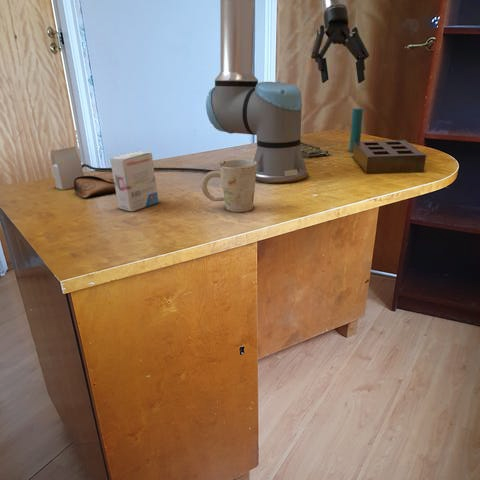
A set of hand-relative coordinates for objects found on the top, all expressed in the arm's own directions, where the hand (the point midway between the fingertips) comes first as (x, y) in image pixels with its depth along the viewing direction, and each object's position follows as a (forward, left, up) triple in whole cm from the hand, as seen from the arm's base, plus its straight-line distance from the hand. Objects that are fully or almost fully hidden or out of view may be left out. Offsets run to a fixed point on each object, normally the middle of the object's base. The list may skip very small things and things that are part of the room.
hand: (343, 81), depth 157 cm
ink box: (-56, -61, -21) cm, 86 cm away
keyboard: (-13, -3, -21) cm, 24 cm away
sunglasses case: (-66, -46, -21) cm, 83 cm away
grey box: (-79, -41, -21) cm, 92 cm away
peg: (+4, -6, -20) cm, 22 cm away
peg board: (+10, -25, -20) cm, 34 cm away
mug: (-34, -65, -21) cm, 76 cm away
